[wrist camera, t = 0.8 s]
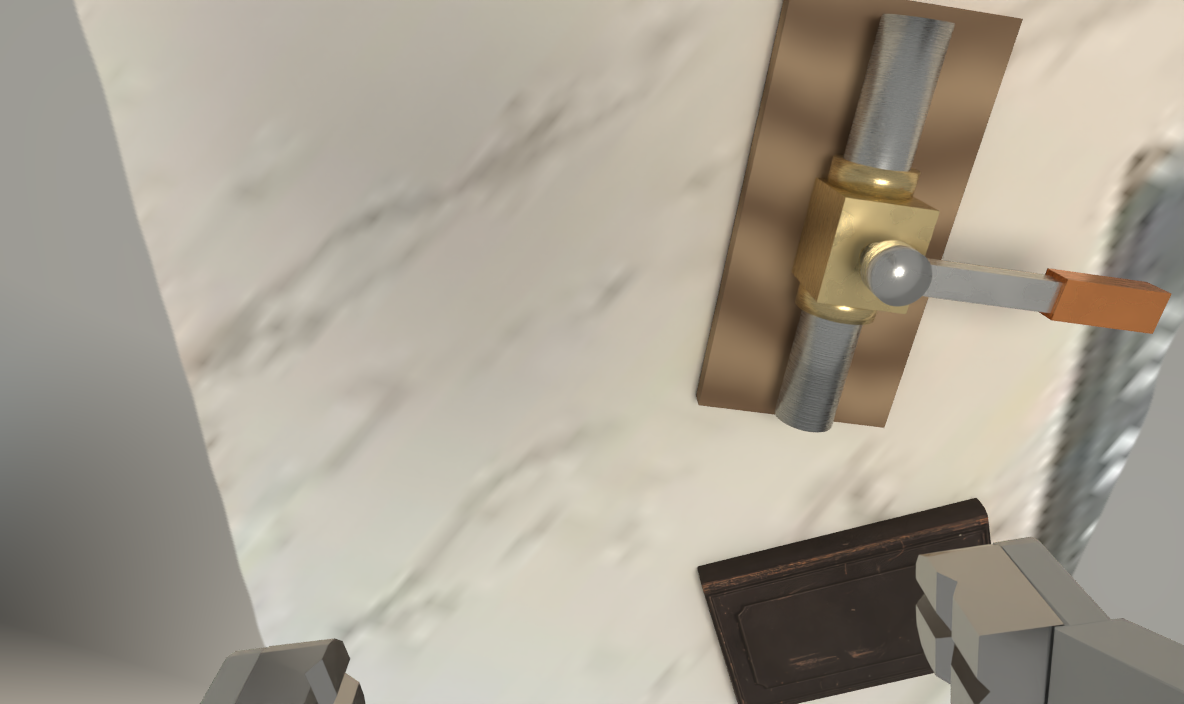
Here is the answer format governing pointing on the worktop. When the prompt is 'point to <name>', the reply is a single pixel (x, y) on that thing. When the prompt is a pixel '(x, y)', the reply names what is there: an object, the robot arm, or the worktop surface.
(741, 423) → the worktop surface
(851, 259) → the valve body
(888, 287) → the valve lever
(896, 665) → the hardcover book
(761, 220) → the mount board
